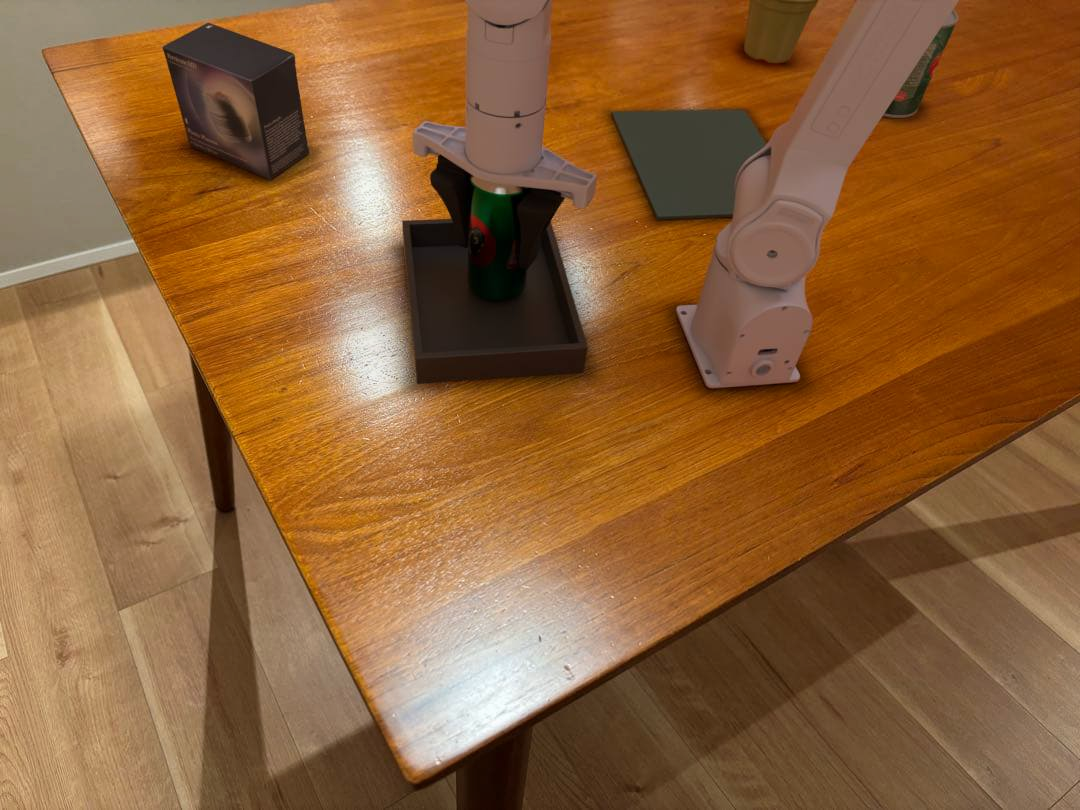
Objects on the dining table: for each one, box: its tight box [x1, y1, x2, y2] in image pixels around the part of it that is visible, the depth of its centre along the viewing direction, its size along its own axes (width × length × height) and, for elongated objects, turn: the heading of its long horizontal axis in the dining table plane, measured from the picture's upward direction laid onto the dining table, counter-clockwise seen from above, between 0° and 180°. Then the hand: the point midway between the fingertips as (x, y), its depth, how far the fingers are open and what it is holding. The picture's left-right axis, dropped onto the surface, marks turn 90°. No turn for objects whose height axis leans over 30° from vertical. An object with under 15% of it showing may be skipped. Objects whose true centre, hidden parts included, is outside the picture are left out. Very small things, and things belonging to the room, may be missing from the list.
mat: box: [610, 109, 767, 221], centre depth 87 cm, size 20×16×1 cm
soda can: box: [467, 173, 531, 302], centre depth 66 cm, size 5×5×12 cm
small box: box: [161, 22, 310, 181], centre depth 78 cm, size 11×6×10 cm, turn 62°
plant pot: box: [743, 0, 819, 64], centre depth 103 cm, size 9×9×9 cm
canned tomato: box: [882, 9, 959, 119], centre depth 96 cm, size 8×8×11 cm
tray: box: [401, 218, 589, 385], centre depth 69 cm, size 17×13×3 cm
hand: (498, 251), depth 68 cm, fingers closed on soda can, 5 cm apart
